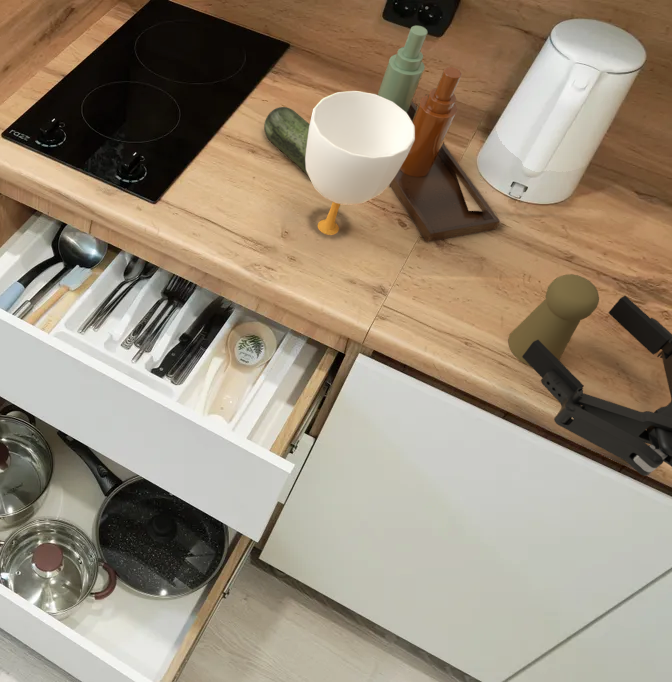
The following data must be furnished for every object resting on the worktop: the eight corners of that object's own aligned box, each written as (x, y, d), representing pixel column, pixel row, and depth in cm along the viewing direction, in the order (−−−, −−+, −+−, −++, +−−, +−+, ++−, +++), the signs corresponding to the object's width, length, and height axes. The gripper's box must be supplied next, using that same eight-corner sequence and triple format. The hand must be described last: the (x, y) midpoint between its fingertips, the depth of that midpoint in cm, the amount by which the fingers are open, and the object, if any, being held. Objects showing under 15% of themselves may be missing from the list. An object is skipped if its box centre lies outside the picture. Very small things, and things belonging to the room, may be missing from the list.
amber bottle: (426, 154, 113) (466, 61, 101) (434, 177, 110) (476, 85, 98) (393, 153, 112) (429, 59, 100) (399, 176, 109) (438, 83, 97)
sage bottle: (397, 113, 118) (433, 20, 105) (404, 135, 115) (441, 42, 103) (365, 112, 117) (397, 18, 105) (371, 134, 114) (404, 40, 102)
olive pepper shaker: (567, 344, 95) (616, 283, 86) (549, 377, 92) (598, 318, 83) (519, 318, 97) (562, 257, 88) (500, 350, 94) (543, 289, 85)
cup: (342, 189, 108) (379, 82, 94) (390, 250, 102) (437, 145, 88) (266, 210, 105) (292, 101, 91) (310, 274, 99) (346, 168, 85)
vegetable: (346, 179, 109) (355, 150, 105) (318, 193, 107) (326, 164, 103) (279, 121, 116) (286, 92, 111) (252, 134, 113) (258, 104, 109)
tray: (493, 232, 105) (500, 221, 103) (424, 245, 103) (430, 233, 101) (400, 102, 120) (405, 91, 118) (339, 111, 118) (342, 99, 116)
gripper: (628, 555, 76) (477, 387, 87) (788, 449, 85) (632, 307, 95) (674, 523, 70) (505, 346, 81) (841, 412, 79) (669, 265, 89)
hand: (574, 325), depth 88 cm, fingers open, 13 cm apart
